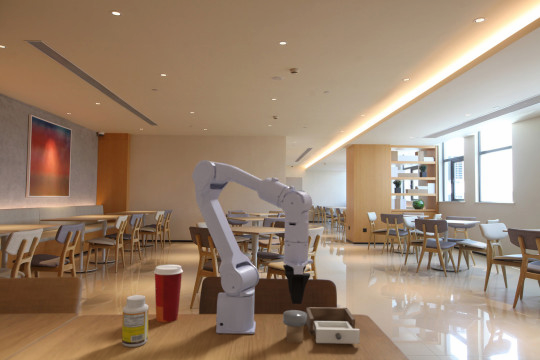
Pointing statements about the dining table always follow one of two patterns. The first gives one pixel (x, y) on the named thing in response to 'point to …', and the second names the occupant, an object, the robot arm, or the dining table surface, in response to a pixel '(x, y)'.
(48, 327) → the dining table surface
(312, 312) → the open square box
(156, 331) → the dining table surface
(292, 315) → the grey dome
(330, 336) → the white drawer
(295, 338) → the wooden block
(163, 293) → the paper cup
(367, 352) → the dining table surface
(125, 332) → the supplement bottle
